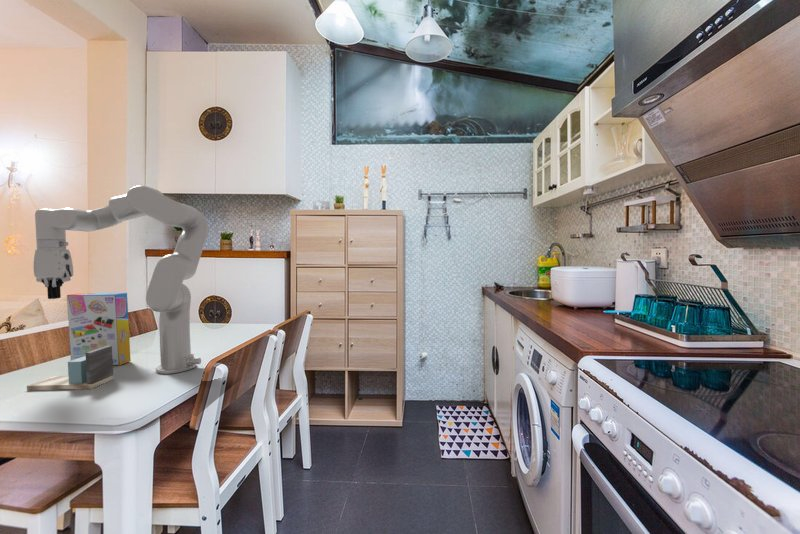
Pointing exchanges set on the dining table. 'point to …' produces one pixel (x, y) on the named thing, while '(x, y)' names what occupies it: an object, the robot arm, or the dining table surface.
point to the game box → (99, 324)
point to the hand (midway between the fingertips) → (54, 298)
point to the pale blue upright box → (77, 371)
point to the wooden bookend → (96, 369)
